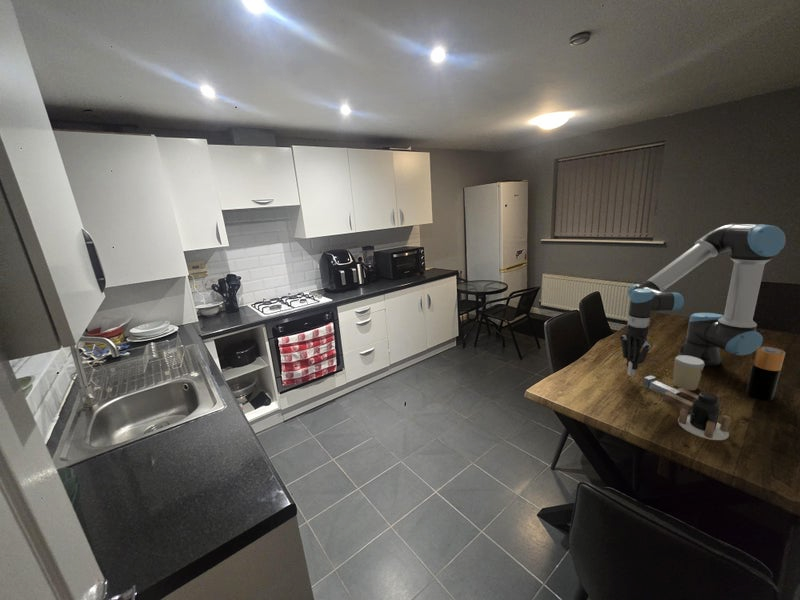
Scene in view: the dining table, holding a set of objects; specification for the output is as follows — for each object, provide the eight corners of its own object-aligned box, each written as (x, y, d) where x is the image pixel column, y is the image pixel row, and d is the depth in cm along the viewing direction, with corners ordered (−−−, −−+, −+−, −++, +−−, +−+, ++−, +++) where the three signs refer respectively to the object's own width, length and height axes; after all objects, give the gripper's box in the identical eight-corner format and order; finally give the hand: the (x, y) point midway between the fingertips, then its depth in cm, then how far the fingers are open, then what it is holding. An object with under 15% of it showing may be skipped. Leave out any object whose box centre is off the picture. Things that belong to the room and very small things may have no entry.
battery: (774, 396, 126) (788, 349, 121) (769, 403, 123) (783, 355, 117) (748, 389, 132) (760, 343, 127) (743, 395, 129) (754, 348, 123)
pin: (642, 386, 139) (644, 377, 138) (649, 384, 140) (651, 375, 139) (673, 401, 128) (674, 391, 127) (680, 398, 129) (682, 389, 128)
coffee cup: (705, 392, 132) (710, 365, 129) (678, 390, 134) (683, 364, 131) (690, 380, 141) (695, 355, 138) (665, 379, 143) (670, 354, 140)
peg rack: (673, 412, 121) (676, 399, 120) (720, 420, 115) (723, 407, 114) (683, 434, 110) (686, 420, 109) (735, 444, 104) (739, 429, 103)
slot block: (662, 400, 129) (663, 393, 128) (679, 395, 132) (681, 387, 131) (691, 415, 119) (693, 407, 118) (709, 408, 122) (711, 400, 121)
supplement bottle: (683, 420, 116) (689, 391, 113) (701, 418, 116) (707, 388, 113) (702, 433, 109) (709, 402, 106) (721, 430, 110) (728, 399, 107)
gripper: (617, 321, 144) (611, 370, 150) (646, 331, 132) (638, 383, 138) (629, 319, 146) (623, 366, 152) (660, 328, 134) (651, 379, 140)
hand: (630, 374), depth 145 cm, fingers closed
